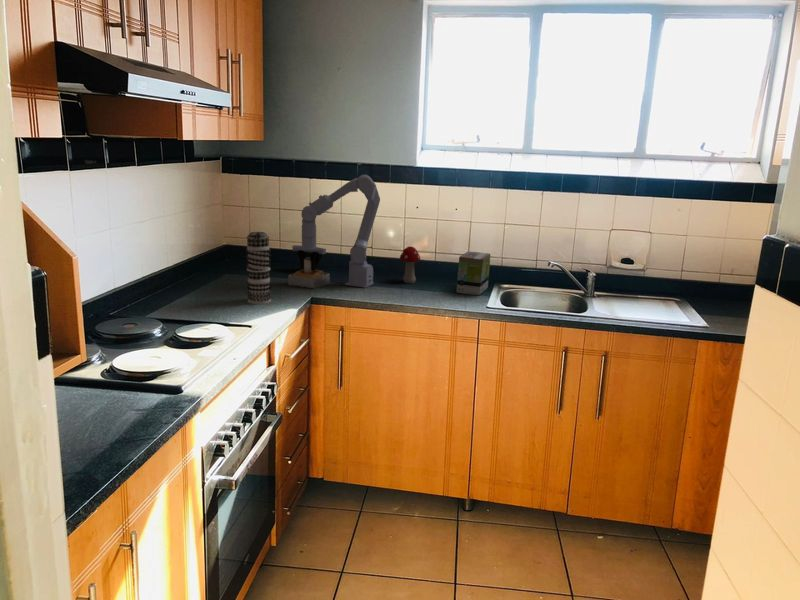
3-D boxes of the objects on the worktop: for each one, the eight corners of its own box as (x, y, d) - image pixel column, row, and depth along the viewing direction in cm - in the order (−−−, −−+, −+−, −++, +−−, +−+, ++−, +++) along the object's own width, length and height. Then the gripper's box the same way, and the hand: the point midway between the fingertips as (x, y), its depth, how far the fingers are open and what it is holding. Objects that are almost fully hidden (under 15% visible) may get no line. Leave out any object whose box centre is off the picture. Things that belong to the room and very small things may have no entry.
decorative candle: (256, 305, 234) (254, 235, 228) (241, 300, 240) (239, 232, 234) (277, 301, 240) (276, 233, 234) (262, 296, 247) (261, 230, 240)
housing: (329, 283, 271) (329, 270, 270) (313, 288, 260) (313, 276, 259) (304, 279, 276) (304, 267, 274) (288, 285, 265) (288, 272, 264)
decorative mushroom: (397, 279, 282) (398, 244, 278) (417, 279, 283) (418, 244, 280) (401, 284, 273) (402, 248, 269) (421, 284, 274) (423, 248, 270)
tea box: (480, 296, 258) (483, 258, 255) (455, 293, 262) (457, 256, 258) (488, 287, 272) (490, 252, 268) (464, 285, 275) (466, 250, 272)
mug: (327, 271, 293) (327, 250, 291) (303, 273, 286) (303, 252, 284) (317, 267, 299) (317, 247, 297) (294, 270, 292) (294, 249, 290)
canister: (314, 274, 266) (314, 258, 265) (306, 275, 264) (306, 259, 263) (310, 272, 269) (310, 256, 268) (302, 273, 267) (302, 257, 266)
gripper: (329, 236, 264) (329, 270, 267) (298, 233, 270) (299, 266, 273) (320, 239, 258) (320, 273, 261) (289, 235, 263) (289, 269, 267)
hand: (309, 269), depth 267 cm, fingers closed on canister, 4 cm apart
